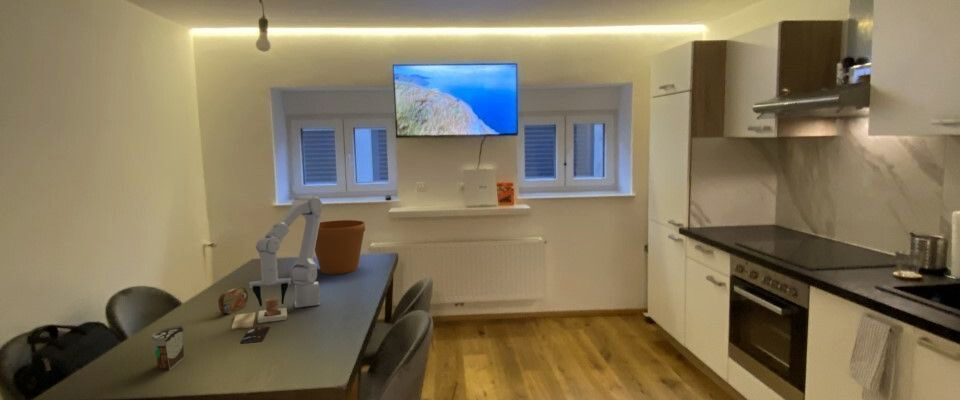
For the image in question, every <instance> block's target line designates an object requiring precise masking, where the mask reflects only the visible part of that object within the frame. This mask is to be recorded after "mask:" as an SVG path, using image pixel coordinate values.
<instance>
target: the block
mask: <svg viewBox="0 0 960 400" xmlns="http://www.w3.org/2000/svg"><path fill="white" fill-rule="evenodd" d="M265 309H266V311H267V316H274V315H280V314H279V311H278V309H279V300H278V297H268V298H265Z"/></svg>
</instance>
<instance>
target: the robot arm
mask: <svg viewBox="0 0 960 400" xmlns="http://www.w3.org/2000/svg"><path fill="white" fill-rule="evenodd" d="M322 209H323V202H322V200H321V199H320V198H319V196H316V195H315V196H306V195H305V196H302V195H298V196H297V195H296V197H295V198H294V200H292V202H291V207H290V208H289V209H288V211H287V213H285V215H284V217H283V218H282V220H281V221H277V222H276V223H273V225H272V227H271V228H270V230H269V231H268V232H267V233H266V234H265V236H264V237H261V238H259V239H258V241H257V242H256V245H255V249H256V251H257V252H258V257H260V270H261V271H260V272H261V280H254V281H249V283H248V284H249V289H252V291H253V293H254V295H255V297H256V298H257V299H256V300H257V301H258V304H259V307H263V301H262V291H261V287H270V286H272V287H273V286H280V293H281V304H282V305H284V303H285V302H284V301H285V295H286V292H287V290H288V287H289V285H291V284H292V283H293V284H294V292H295V293H294V295H295V301H294V307H295V309H296V308H304V307H312V306H320V305H321V301H320V300H321V294H320V286H319V281H316V280H317V277H318V264H317V263H316V262H315V261H314V255H315V246H316V240H317V235H318V230H319V224H320V222H321V217H322V216H321V213H322ZM299 216H302V217H303V218H304V219H305V225H304V230H303V235H302V240H301V245H300V251H299V256H298V258H297V259H296V260H295V261H294V262H293V263H292V266H291V269H290V271H289V277H287V278H285V277H284V278H279V271H278V258H277V256H278V255H277V252H278V251H279V250H280V247H281V244H282V241H283V240H284V238H285V237H286V236H287V234H288V233H289V231H290V230H289V229H290V228H289V227H290V226H291V225H292V224H293V223H294V222H295V220H297V219H298V218H299Z"/></svg>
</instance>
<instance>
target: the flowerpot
mask: <svg viewBox="0 0 960 400" xmlns="http://www.w3.org/2000/svg"><path fill="white" fill-rule="evenodd" d="M365 231H366V222H365V221H363V220H356V219H355V220H354V219H353V220H352V219H343V220H339V219H337V220H328V221H327V220H326V221H320V224H319V230H318V235H317V240H316V246H315V251H314V254H315V256H316V259H317V262H318V265H319V269H320V273H322V274H327V275H336V274H337V275H338V274H346V273H347V274H348V273H351V272H354V271H356V270H359V269H358V268H359V264H360V263H359V262H360V256H361V251H362V246H363V240H364V239H363V238H364V234H365Z"/></svg>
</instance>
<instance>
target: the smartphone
mask: <svg viewBox="0 0 960 400" xmlns="http://www.w3.org/2000/svg"><path fill="white" fill-rule="evenodd" d="M269 328H270V329H271V326H269V325H267V326H256V327H255V326H253V327H250V328H248V329H247V330H246V333H245V334H244V336H243V337H242V339H241V341H240V342H239V344H240V345H244V344H254V343H262V342H263V341H264V339H265V338H266V337H267V334H268V333H269V331H268V330H270V329H269Z"/></svg>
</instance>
